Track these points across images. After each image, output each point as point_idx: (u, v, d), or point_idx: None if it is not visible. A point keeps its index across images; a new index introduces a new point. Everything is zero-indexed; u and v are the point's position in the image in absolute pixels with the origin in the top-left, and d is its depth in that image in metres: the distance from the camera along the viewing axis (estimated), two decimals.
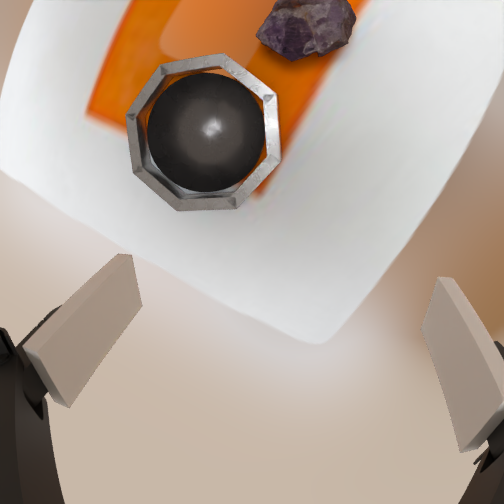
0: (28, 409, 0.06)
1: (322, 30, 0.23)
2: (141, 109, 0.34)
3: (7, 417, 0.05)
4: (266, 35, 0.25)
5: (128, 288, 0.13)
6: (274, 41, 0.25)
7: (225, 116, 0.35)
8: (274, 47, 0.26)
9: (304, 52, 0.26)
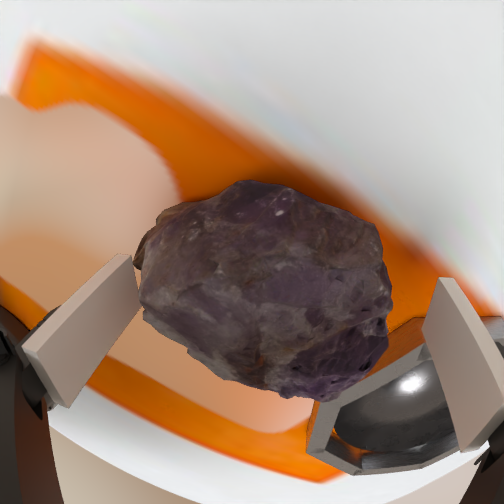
0: (27, 409, 0.06)
1: (342, 310, 0.10)
2: (356, 464, 0.23)
3: (6, 418, 0.05)
4: (323, 397, 0.13)
5: (127, 288, 0.13)
6: (341, 384, 0.13)
7: (414, 387, 0.20)
8: (353, 381, 0.13)
9: (383, 335, 0.12)
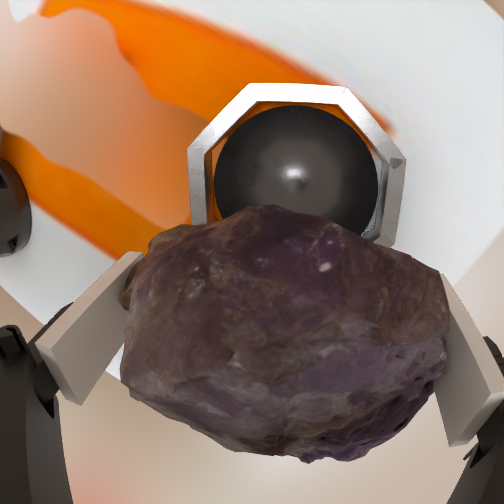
0: (39, 408, 0.06)
1: (392, 384, 0.07)
2: None
3: (17, 416, 0.05)
4: (349, 457, 0.10)
5: None
6: (371, 444, 0.10)
7: (276, 154, 0.27)
8: (384, 439, 0.10)
9: (428, 395, 0.08)
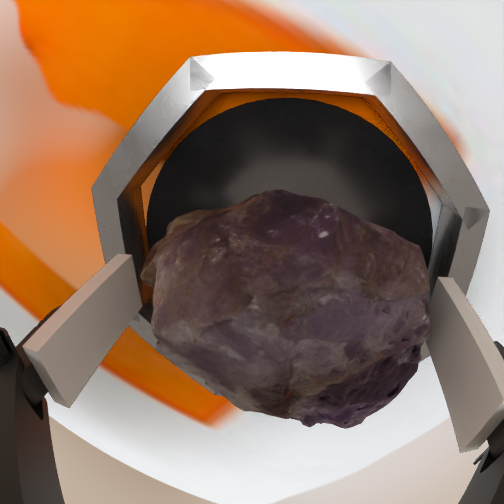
0: (28, 409, 0.06)
1: (382, 341, 0.09)
2: None
3: (7, 418, 0.05)
4: (346, 423, 0.12)
5: (128, 288, 0.13)
6: (366, 410, 0.11)
7: (250, 194, 0.15)
8: (378, 407, 0.12)
9: (416, 362, 0.10)
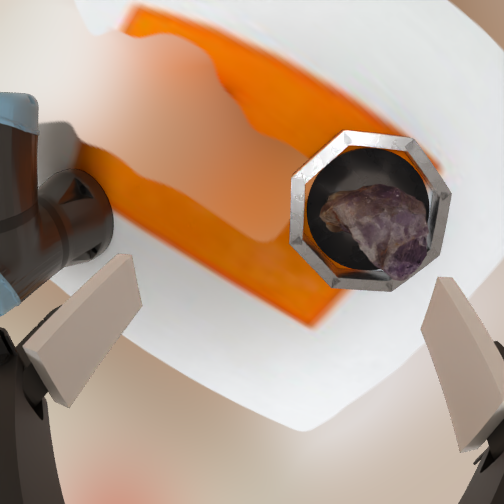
0: (28, 409, 0.06)
1: (413, 230, 0.28)
2: (331, 270, 0.37)
3: (7, 418, 0.05)
4: (402, 276, 0.31)
5: (128, 288, 0.13)
6: (409, 269, 0.30)
7: (358, 186, 0.34)
8: (414, 269, 0.31)
9: (425, 245, 0.29)
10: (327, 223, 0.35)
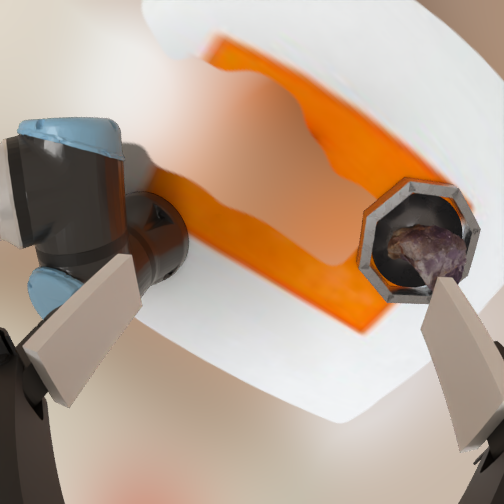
0: (28, 409, 0.06)
1: (457, 261, 0.35)
2: (388, 289, 0.44)
3: (7, 418, 0.05)
4: None
5: (128, 288, 0.13)
6: None
7: (412, 222, 0.41)
8: None
9: (462, 271, 0.36)
10: (389, 252, 0.41)
